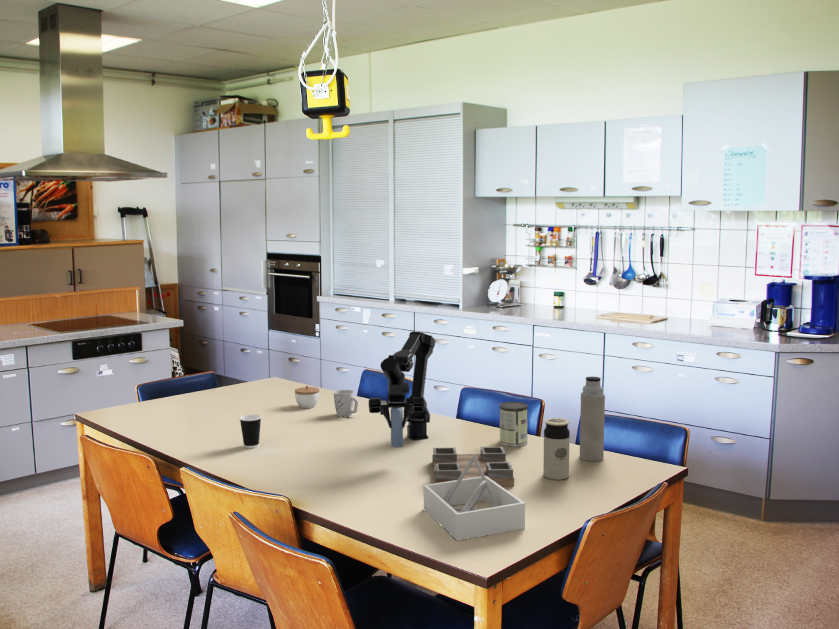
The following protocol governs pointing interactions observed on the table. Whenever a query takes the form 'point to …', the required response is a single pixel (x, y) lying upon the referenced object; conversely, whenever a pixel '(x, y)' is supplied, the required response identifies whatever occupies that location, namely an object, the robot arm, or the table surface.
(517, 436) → the coffee can
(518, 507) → the open square box
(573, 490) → the table surface
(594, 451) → the thermos bottle
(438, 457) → the four-cup wooden tray
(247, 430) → the dixie cup
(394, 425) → the stool leg
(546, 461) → the travel mug
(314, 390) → the lidded jar
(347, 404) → the mug
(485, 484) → the wire frame
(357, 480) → the table surface
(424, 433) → the robot arm
